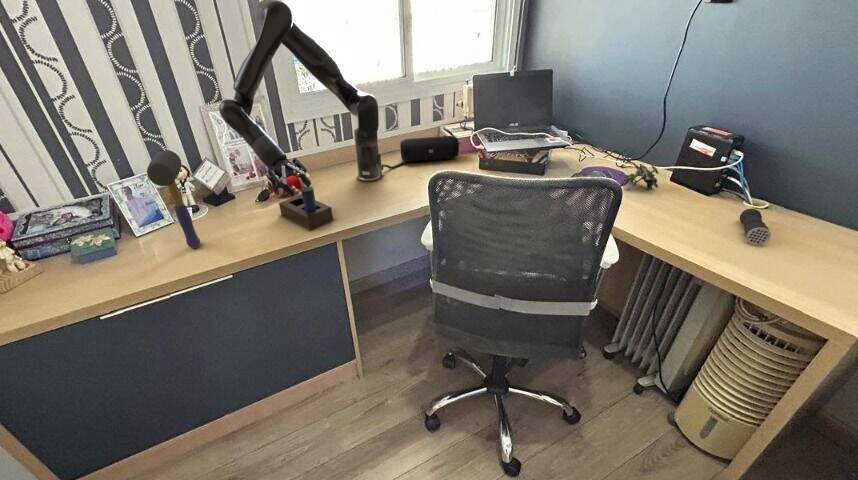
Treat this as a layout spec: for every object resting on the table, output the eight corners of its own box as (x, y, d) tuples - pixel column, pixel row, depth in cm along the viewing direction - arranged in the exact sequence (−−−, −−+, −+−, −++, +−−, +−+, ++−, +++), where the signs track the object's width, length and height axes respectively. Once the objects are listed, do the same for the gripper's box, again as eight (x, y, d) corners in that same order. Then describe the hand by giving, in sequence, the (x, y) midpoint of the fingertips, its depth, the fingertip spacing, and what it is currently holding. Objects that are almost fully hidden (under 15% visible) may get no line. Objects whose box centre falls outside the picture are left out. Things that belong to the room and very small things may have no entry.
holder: (304, 206, 156) (301, 193, 153) (333, 220, 146) (331, 207, 143) (281, 215, 150) (278, 202, 147) (310, 230, 140) (307, 217, 137)
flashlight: (735, 220, 135) (743, 205, 131) (755, 223, 133) (763, 208, 129) (743, 242, 124) (751, 226, 120) (765, 246, 122) (774, 230, 118)
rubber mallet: (204, 254, 130) (169, 160, 113) (179, 258, 129) (139, 163, 111) (209, 235, 140) (178, 146, 122) (186, 239, 139) (150, 149, 121)
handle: (314, 217, 148) (308, 185, 141) (320, 220, 146) (315, 188, 139) (304, 221, 146) (298, 189, 139) (311, 224, 144) (305, 192, 137)
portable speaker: (402, 165, 187) (402, 143, 181) (400, 158, 194) (399, 136, 189) (458, 161, 188) (459, 139, 182) (454, 154, 196) (455, 132, 190)
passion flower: (643, 202, 160) (668, 184, 149) (619, 200, 157) (643, 182, 146) (635, 177, 164) (660, 158, 153) (612, 175, 161) (635, 155, 150)
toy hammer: (330, 201, 159) (327, 185, 155) (303, 211, 152) (300, 195, 149) (297, 185, 172) (295, 170, 169) (272, 194, 166) (269, 179, 162)
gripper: (257, 151, 131) (292, 191, 133) (287, 138, 141) (319, 176, 143) (249, 165, 136) (283, 204, 138) (279, 152, 146) (310, 188, 148)
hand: (301, 190), depth 141 cm, fingers open, 8 cm apart
